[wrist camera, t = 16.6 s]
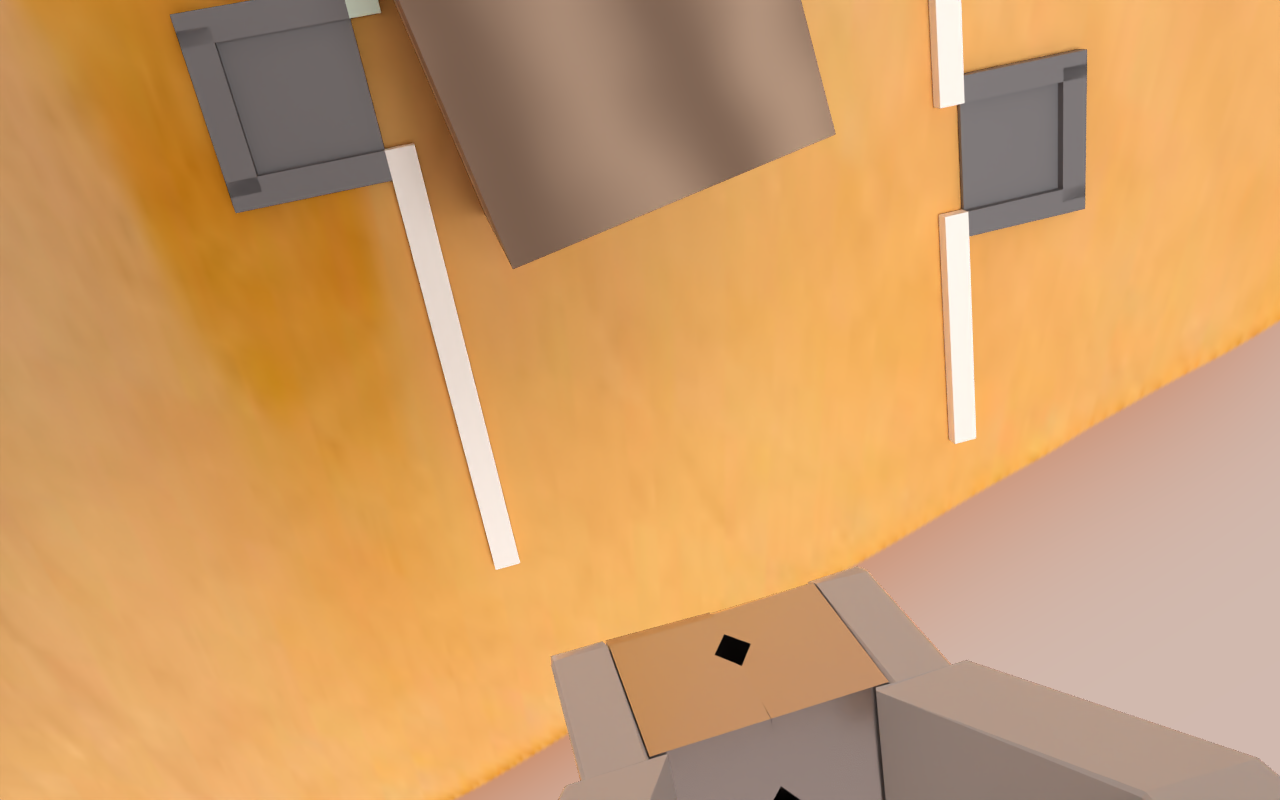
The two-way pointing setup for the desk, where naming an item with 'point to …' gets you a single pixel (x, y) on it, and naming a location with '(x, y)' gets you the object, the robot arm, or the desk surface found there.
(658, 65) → the walnut block
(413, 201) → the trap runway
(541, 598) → the desk surface
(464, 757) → the desk surface
